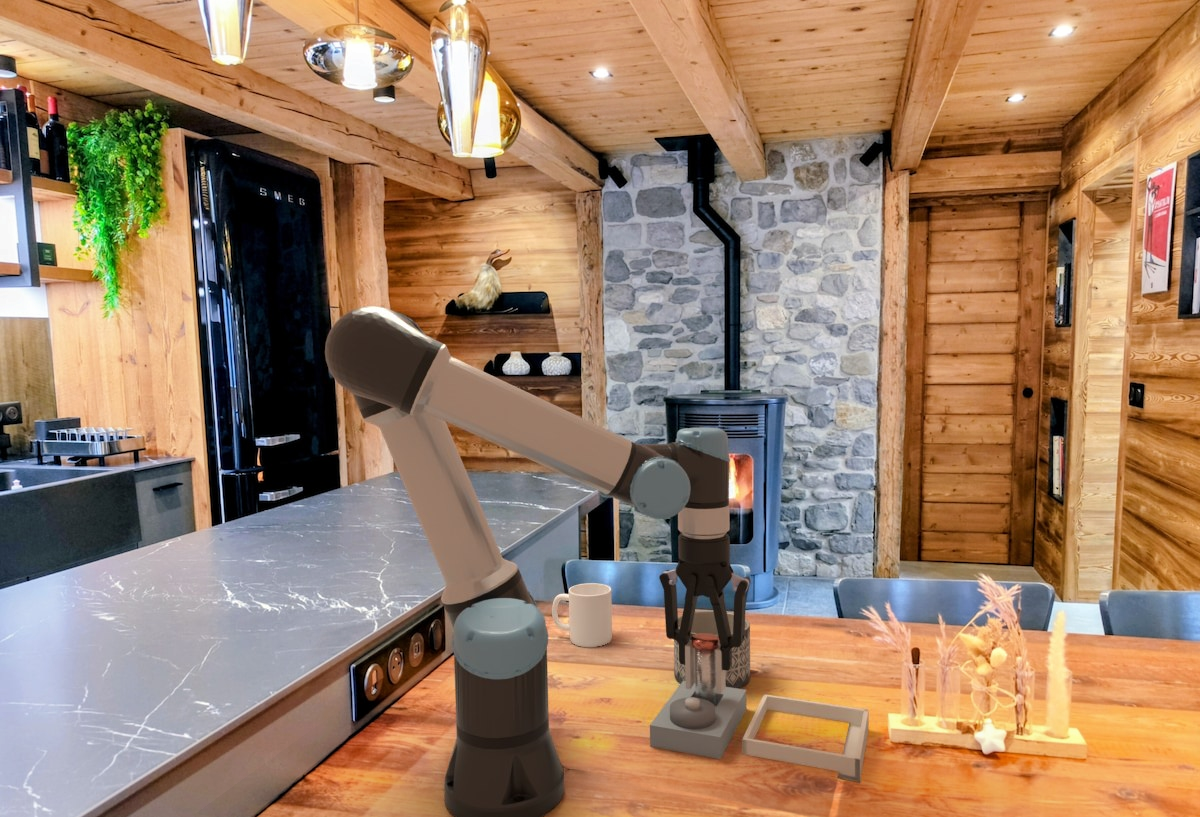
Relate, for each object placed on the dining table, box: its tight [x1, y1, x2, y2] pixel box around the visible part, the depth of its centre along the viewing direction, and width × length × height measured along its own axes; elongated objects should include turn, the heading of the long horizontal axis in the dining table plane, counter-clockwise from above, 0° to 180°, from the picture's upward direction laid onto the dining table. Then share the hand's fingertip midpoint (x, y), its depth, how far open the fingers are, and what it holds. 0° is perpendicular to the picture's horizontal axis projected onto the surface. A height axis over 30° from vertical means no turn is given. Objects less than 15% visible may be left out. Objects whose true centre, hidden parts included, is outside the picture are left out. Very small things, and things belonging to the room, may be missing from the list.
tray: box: [741, 693, 870, 783], centre depth 111 cm, size 15×15×3 cm
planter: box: [673, 609, 751, 689], centre depth 132 cm, size 13×13×10 cm
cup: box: [551, 582, 613, 648], centre depth 153 cm, size 8×12×10 cm
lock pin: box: [691, 633, 719, 706], centre depth 117 cm, size 4×4×12 cm
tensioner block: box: [649, 681, 747, 760], centre depth 114 cm, size 16×10×7 cm, turn 157°
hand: (705, 687), depth 117 cm, fingers closed on lock pin, 4 cm apart
